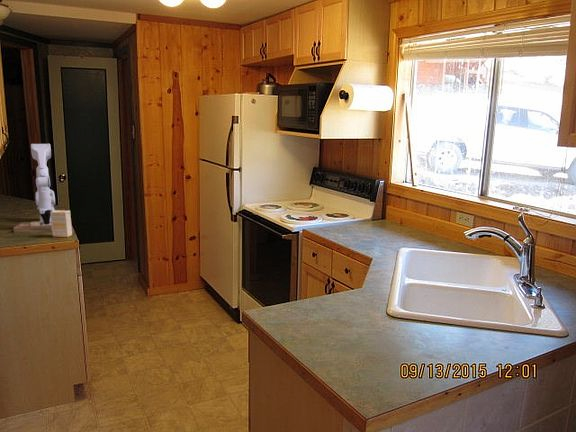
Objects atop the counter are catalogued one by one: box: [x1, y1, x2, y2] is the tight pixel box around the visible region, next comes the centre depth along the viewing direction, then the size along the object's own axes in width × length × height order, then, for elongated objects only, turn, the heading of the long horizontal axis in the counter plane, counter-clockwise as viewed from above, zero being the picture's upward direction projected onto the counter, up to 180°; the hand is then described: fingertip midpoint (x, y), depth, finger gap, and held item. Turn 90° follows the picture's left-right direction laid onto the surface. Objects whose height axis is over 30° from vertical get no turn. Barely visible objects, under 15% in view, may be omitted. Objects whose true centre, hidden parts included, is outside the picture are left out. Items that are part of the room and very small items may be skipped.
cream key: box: [30, 220, 41, 226], centre depth 261 cm, size 4×4×2 cm
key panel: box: [13, 221, 52, 234], centre depth 262 cm, size 13×18×2 cm
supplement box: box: [50, 209, 73, 238], centre depth 247 cm, size 8×5×13 cm, turn 84°
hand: (46, 224), depth 263 cm, fingers closed, pressing on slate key
